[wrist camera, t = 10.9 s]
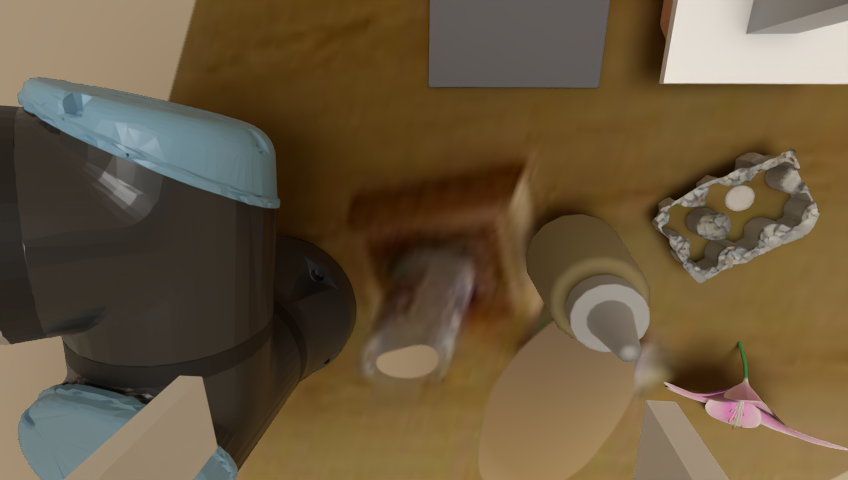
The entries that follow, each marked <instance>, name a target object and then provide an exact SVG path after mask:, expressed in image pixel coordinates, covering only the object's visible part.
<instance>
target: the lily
mask: <svg viewBox="0 0 848 480" xmlns="http://www.w3.org/2000/svg"><path fill="white" fill-rule="evenodd" d="M738 346H739V349H740V353H741V357H742V362H743V369H744V378H743V382H742V383H740V384H737V385H734V386H731V387H728V388H725V389H721V390H717V391H713V392H708V393H691V392H688V391H686V390H684V389H681V388H679V387H677V386H674V385H672V384H669V383H667V382H664V383H665V384H666V385H667V386H668V387H669V388H668V389H670V390H672V391H674V392H676V393H678V394H681V395H683V396H686V397H689V398H691V399H694V400H697V401H700V402H704V403H706V406H705V409H706V411H707V413H708V414H709V415H711V416H712V417H714V418H716V419H718V420H721V421H723V422H726V423H729V424H732V425H734V426H733V428H732V430H733V429H735V427H736V426H740V427H741V429H742V427H745V428H754V427H757V426H759V424H762V425H765V426H767V427H769V428H772V429H774V430H777V431H780V432H782V433H785V434H788V435H791V436H795V437H798V438H800V439H803V440H805V441H808V442H811V443H814V444H818V445H822V446H826V447H831V448H836V449H841V450H848V449H847V448H844V447H842V446H838V445H835V444H832V443H829V442H826V441H822V440H819V439H817V438H814V437H811V436H808V435H805V434H802V433H800V432H797V431H795V430H793V429H790V428H788V427H787V426H786V425H785V424H784V423H783V422H782V421H781V420H780V419H779V418H778V417H777V416H776V415H775V414H774V413H773V411H772V410H771V409H770V408H769V407H768V406H767V405H766V404H765V403H764V401H763V400H762V399H761V398H760V397H759V396H758V395H757V394H756V393H755V391H754V390H753V389H752V388H751V387H750V385H749V383H748V369H747V362H746V357H745V353H744V350H743V346H742V343H741V342H738ZM666 388H667V387H666Z"/></svg>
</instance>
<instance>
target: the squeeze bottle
mask: <svg viewBox="0 0 848 480" xmlns="http://www.w3.org/2000/svg"><path fill="white" fill-rule="evenodd" d="M526 263H527V273H528V275H529V276H530V278H531V280H532V282H533V284H534V286H535V287H536V289H537V291H538V293H539V295H540V296H541V298H542V300H543V302H544V303H545V305H546V307H547V309H548V311H549V312H550V314H551V316H552V318H553V319H554V321H555V323H556V325H557V327H558V328H560V329H561V330H562V331H564V332H565V333H566V334H567V335H569V336H570V337H571V338H574V339H577V340H579V341H580V342H581V343H582V344H584V345H585V346H587V348H591V349H594V350H597V351H600V352H613V353H614V354H615V355H617V356H618V357H619V358H620V359H621V360H622V361H625V362H633V361H636V360H637V359H638V358H639V357H640V355H641V347H640V343H639V339H640V338H642V337H643V336H644V334H645V332H646V330H647V328H648V325H649V323H650V309H649V307H650V287H649V285H648V283H647V281H646V279H645V277H644V275H643V273H642V271H641V270H640V268H639V267H638V265H637V263H636V262H635V260H634V259H633V257H632V256H631V254H630V252H629V251H628V249H627V248H626V246H625V244H624V243H623V241H622V240H621V238H620V237H619V235H618V233H617V232H616V231H615V230H614V229H613V228H612V227H610V226H609V225H608V224H607V223H605V222H604V221H603V220H602V219H599V218H595V217H592V216H588V215H584V214H577V215H566V216H561V217H559V218H557V219H555V220H553V221H551V222H549V223H547V224H545V225H544V226H543V227H542V228H541V229H540V230H539V231H538V232H537V234H536V235H535V236H534V237H533V238H532V240H531V243H530V245H529V248H528V251H527V254H526Z"/></svg>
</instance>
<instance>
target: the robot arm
mask: <svg viewBox="0 0 848 480" xmlns="http://www.w3.org/2000/svg"><path fill="white" fill-rule="evenodd" d="M17 96H18V102H19V104H21V105H23V107H14V106H0V345H7V344H15V343H20V342H25V341H32V340H37V339H43V338H52V337H56V336H62V340H63V345H64V352H65V359H66V366H67V376H66V379H65V380H64V382H63V383H62V384H59V385H54V386H52V387H50V388H49V389H46V390H44V391H42V392H41V393H40V394H39V397H38V399H37V400H36V401H35V402H34V403H33V404H32V405H31V406H30V407H29V408H28V409H27V410H26V411H25V412H24V413H23V414H22V417H21V419H20V421H19V425H18V440H19V444H20V447H21V450H22V452H23V455H24V456H25V458H26V460H27V462H28V464H29V465H30V466H31V468H32V469H33V471H34V472H35V473H36V474H37V475H38V476H39V478H40V479H41V480H235V479H236V477H237V472H238V471H239V469H240V468H241V466H242V465H243V463H244V462H245V461H246V459H247V458H248V456H249V455H250V453H251V452H252V450H253V449H254V447H255V446H256V444H257V443H258V441H259V440H260V439H261V437H262V436H263V434H264V433H265V431H266V430H267V428H268V427H269V425H270V424H271V422H272V421H273V419H274V418H275V417H276V415H277V414H278V412H279V411H280V409H281V408H282V406H283V405H284V403H285V402H286V400H287V399H288V397H289V396H290V395H291V393H292V391H293V390H294V389H295V387H296V386H297V384H298V383H299V382H300V381H302V380H303V379H305V378H306V377H308V376H309V375H311V374H312V373H313V372H315V371H317V370H319V369H321V368H323V367H324V366H326V365H327V364H329V363H330V362H331V361H332V360H333V359H334V358H335V357H336V356H337V355H338V354H339V353H340V352H341V350H342V349H343V347H344V346H345V344H346V342H347V341H348V339H349V337H350V335H351V333H352V331H353V328H354V324H355V319H356V303H355V297H354V293H353V290H352V287H351V285H350V283H349V281H348V279H347V277H346V275H345V274H344V272H343V271H342V269H341V268H340V267H339V266H338V264H337V263H336V262H335V261H334V260H333V259H332V258H331V257H330V256H328V255H327V254H326V253H325V252H323V251H322V250H320V249H319V248H317V247H315V246H314V245H312V244H310V243H307V242H305V241H302V240H299V239H295V238H291V237H283V236H276V226H277V208H279V207H280V198H279V197H278V196H277V176H276V153H275V149H274V146H273V144H272V142H271V140H270V139H269V137H268V136H267V135H266V134H265V133H264V132H263V131H262V130H260V129H259V128H257V127H256V126H254V125H252V124H250V123H247V122H244V121H241V120H238V119H235V118H231V117H228V116H224V115H221V114H217V113H213V112H210V111H206V110H202V109H198V108H194V107H190V106H185V105H181V104H177V103H173V102H169V101H164V100H160V99H155V98H151V97H146V96H142V95H136V94H132V93H127V92H122V91H117V90H113V89H107V88H102V87H96V86H88V85H83V84H75V83H71V82H67V81H64V80H57V79H49V78H30V79H29V80H28V81H26V82H24V84H23V88H22V91H20V92H19V93H18V95H17ZM633 479H634V480H729V479H728V477H727V476H726V474H725V473H724V471H723V470H722V469H721V467H720V466H719V464H718V463H717V461H716V460H715V458H714V457H713V455H712V454H711V453H710V451H709V450H708V448H707V447H706V445H705V444H704V442H703V441H702V439H701V438H700V436H699V435H698V434H697V432H696V431H695V429H694V428H693V426H692V425H691V423H690V422H689V420H688V419H687V418H686V416H685V415H684V413H683V412H682V410H681V409H680V407H679V406H678V404H677V403H676V402H672V401H653V400H646V402H645V408H644V415H643V421H642V427H641V434H640V440H639V446H638V453H637V459H636V465H635V472H634V478H633Z"/></svg>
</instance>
